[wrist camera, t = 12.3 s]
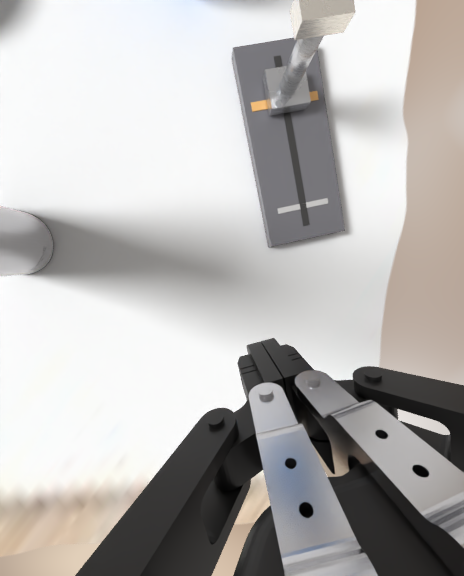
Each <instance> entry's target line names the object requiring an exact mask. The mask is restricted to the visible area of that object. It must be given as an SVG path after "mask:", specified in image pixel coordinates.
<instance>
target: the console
mask: <svg viewBox="0 0 464 576" xmlns="http://www.w3.org/2000/svg"><path fill="white" fill-rule="evenodd" d="M296 41H297V40H294V38H289V39H283V40H277V41H271V42H265V43H259V44H253V45H247V46H240V47H234V48H233V52H232V64H233V69H234V74H235V79H236V84H237V89H238V94H239V99H240V104H241V110H242V115H243V120H244V125H245V130H246V135H247V140H248V145H249V151H250V156H251V161H252V166H253V171H254V176H255V181H256V186H257V191H258V197H259V202H260V207H261V212H262V217H263V222H264V227H265V232H266V238H267V243H268V247H272V246H276V245H281V244H285V243H290V242H295V241H299V240H304V239H308V238H313V237H317V236H322V235H326V234H331V233H336V232H340V231H345V229H344V222H343V216H342V209H341V203H340V196H339V189H338V183H337V176H336V170H335V163H334V157H333V150H332V144H331V137H330V131H329V124H328V117H327V111H326V104H325V98H324V91H323V85H322V78H321V72H320V65H319V59H318V52H317V50H316V52H315V54H314V56H313V58H312V60H311V62H310V64H309V66H308V68H307V70H306V75H307V81H308V87H309V93H310V100H311V103H310V104H309V106H308V107H307V109H304V110H299V111H293V112H288V113H283V114H277V115H272V116H269V112H268V106H267V101H266V95H265V90H264V84H263V79H262V78H263V75H264V71H265V69H271V68H277V67H283V66H287V64H288V61H289V59H290V56H291V54H292V51H293V49H294V46H295V44H296Z"/></svg>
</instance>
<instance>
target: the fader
mask: <svg viewBox="0 0 464 576" xmlns="http://www.w3.org/2000/svg"><path fill="white" fill-rule="evenodd" d="M354 14H355V6H354V0H293V3H292V6H291V9H290V15H291V22H292V28H293V34H294V40H297V41H296V44H295V46H294V49H293V51H292V54H291V56H290V59H289V61H288V64H287V66H283V67H277V68H271V69H265V71H264V75H263V78H262V79H263V84H264V90H265V95H266V101H267V106H268V112H269V116H272V115H277V114H283V113H288V112H293V111H299V110H304V109H307V107H308V106H309V104H310V103H311V100H310V93H309V87H308V81H307V75H306V70H307V68H308V66H309V64H310V62H311V60H312V58H313V56H314V54H315V52H316V50H317V48H318V46H319V44H320V42H321V40H322V38H323V36H325V35H331V34H337V33H343V32H344V31H345V29H346V27H347V26H348V24H349V22H350V21H351V19H352V17H353V16H354Z"/></svg>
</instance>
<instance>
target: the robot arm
mask: <svg viewBox="0 0 464 576" xmlns="http://www.w3.org/2000/svg"><path fill="white" fill-rule="evenodd" d="M52 253H53V239H52V235H51V233H50V231H49V229H48V228H47V227H46V225H45V224H44V223H43V222H42V221H41V220H40V219H38V218H37V217H35V216H33V215H31V214H28V213H25V212H22V211H18V210H14V209H10V208H6V207H3V206H0V276H11V275H25V274H31V273H35V272H37V271H39V270H41V269H42V268H43V267H45V266H46V265H47V263H48V262H49V261H50V258H51V256H52ZM247 351H248V355H245V356H241V357H240V358H239V360H238V367H239V371H240V376H241V380H242V385H243V389H244V392H245V395H246V398H247V402H246V403H245V405H244V406H243V407H242V408H240V409H239V410H238V411H236V412H234V413H233V412H232V411H231V410H229V409H227V408H217V409H214V410H211V411H209V412H207V413H206V414H205V415H204V416H203V417H202V418H201V419H200V420H199V421H198V423H197V424H196V425H195V426H194V428H193V429H192V430H191V431H190V433H189V434H188V435H187V436H186V438H185V439H184V440H183V441H182V443H181V444H180V445H179V446H178V448H177V449H176V450H175V451H174V453H173V454H172V455H171V456H170V458H169V459H168V460H167V461H166V463H165V464H164V465H163V466H162V468H161V469H160V470H159V471H158V473H157V474H156V475H155V476H154V478H153V479H152V480H151V481H150V483H149V484H148V485H147V486H146V488H145V489H144V490H143V491H142V493H141V494H140V495H139V496H138V498H137V499H136V500H135V501H134V503H133V504H132V505H131V506H130V508H129V509H128V510H127V511H126V513H125V514H124V515H123V516H122V518H121V519H120V520H119V521H118V523H117V524H116V525H115V526H114V528H113V529H112V530H111V531H110V533H109V534H108V535H107V536H106V538H105V539H104V540H103V541H102V543H101V544H100V545H99V547H98V548H97V549H96V550H95V552H94V553H93V554H92V555H91V557H90V558H89V559H88V560H87V562H86V563H85V564H84V565H83V567H82V568H81V569H80V570H79V572H78V573H77V574H76V575H75V576H211V575H212V573H213V571H214V569H215V566H216V564H217V562H218V559H219V557H220V555H221V552H222V550H223V548H224V546H225V543H226V541H227V539H228V536H229V534H230V532H231V530H232V527H233V525H234V523H235V520H236V518H237V516H238V513H239V511H240V509H241V507H242V504H243V502H244V500H245V497H246V495H247V493H248V491H249V488H250V484H251V478H252V477H254V476H255V475H256V474H258V473H259V472H260V471H262V470H263V471H264V476H265V480H266V485H267V490H268V495H269V500H270V506H269V507H268V508H267V509H266V510H265V511H264V512H263V513H262V514H261V516H260V517H259V518H258V519H257V521H256V522H255V524H254V525H253V527H252V528H251V530H250V533H249V535H248V537H247V539H246V542H245V544H244V547H243V549H242V552H241V555H240V558H239V561H238V564H237V567H236V570H235V573H234V575H233V576H464V386H463V385H459V384H454V383H449V382H445V381H440V380H435V379H430V378H426V377H421V376H416V375H411V374H407V373H402V372H397V371H393V370H388V369H383V368H379V367H371V366H368V367H361V368H359V369H357V370H355V371H354V373H353V380H341V381H336V380H333V379H332V378H331V377H329V376H328V375H327V374H326V373H324V372H321V371H316V370H314V369H313V368H312V367H311V366H310V365H309V364H308V363H307V362H306V361H305V359H304V358H302V356H301V355H300V354H299V353H298V352H297V351H296V349H295V348H294V347H291V346H289V345H287V344H286V345H282V346H280V345H279V344H278V342H277V341H276V340H275V339H274V338H272V339H268V340H264V341H261V342H257V343H253V344H249V345H247ZM397 409H400V410H404V411H407V412H411V413H413V414H417V415H420V416H423V417H427V418H430V419H433V420H436V421H439V422H440V423H442V424H443V425H445V426H446V427H447V428H448V430H449V431H450V435H441V434H438V433H435V432H432V431H429V430H426V429H423V428H420V427H417V426H414V425H411V424H408V423H405V422H402V421H399V420H398V413H397ZM326 474H327V475H326ZM327 476H328V477H327Z"/></svg>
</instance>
